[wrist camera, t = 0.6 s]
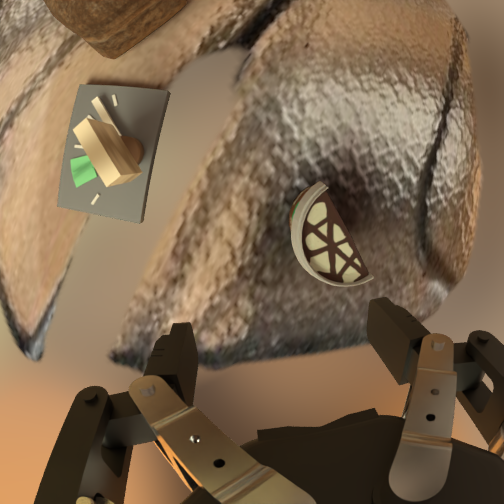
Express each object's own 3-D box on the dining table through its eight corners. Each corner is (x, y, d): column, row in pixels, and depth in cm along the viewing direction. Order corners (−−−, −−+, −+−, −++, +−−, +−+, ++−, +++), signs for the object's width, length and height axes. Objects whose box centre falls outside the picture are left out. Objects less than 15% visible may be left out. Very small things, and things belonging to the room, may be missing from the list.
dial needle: (156, 166, 33) (130, 168, 24) (130, 185, 34) (98, 194, 24) (108, 90, 30) (73, 71, 21) (85, 109, 30) (45, 98, 21)
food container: (260, 202, 37) (271, 216, 28) (301, 176, 37) (325, 182, 27) (307, 277, 41) (329, 311, 31) (344, 254, 40) (375, 281, 31)
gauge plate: (170, 93, 32) (167, 90, 31) (143, 221, 37) (139, 224, 35) (84, 86, 31) (79, 84, 29) (62, 204, 35) (56, 206, 34)
